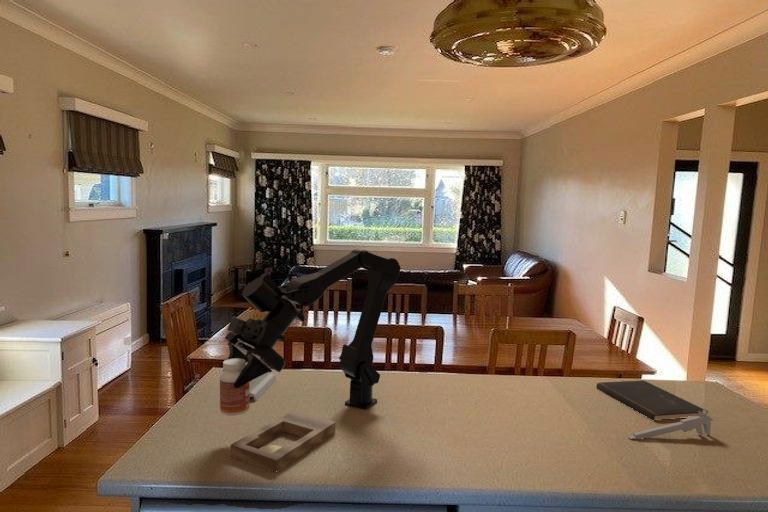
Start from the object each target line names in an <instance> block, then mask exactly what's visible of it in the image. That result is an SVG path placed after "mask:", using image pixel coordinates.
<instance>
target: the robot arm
mask: <svg viewBox="0 0 768 512" xmlns="http://www.w3.org/2000/svg"><path fill="white" fill-rule="evenodd" d="M359 269H364V270H366V271H367V274H366V275H367V277H366V278H367V282H368V283H367V284H368V289H367V292H366V296H365V300H364V304H363V307H362V310H361V312H360V313H361V314H360V317H359V320H358V323H357V327H356V330H355V334H354V337H353V339H352V341H351V342H350V343H349V344H348V345H347V344H345V343H344V344H343V346H342V347H341V348H342V349H341V353H340V356H339V357H338V360H339V367H340V369H341V371H342V372H343V373H344V377H345V378H348V379H350V382H349V399H347V400H345V401H344V404H345V405H348V406H351V407H355V408H358V409H359V408H360V409H363V410H365V409H366V410H367V409H368V408H369V407H371V406H373V405H374V404H376V403H377V402H378V398H375V397H374V398H373V386H374V385H375V384H379V381H380V378H381V373H379V372H378V371H377V370H376V369H375V368H374V367H373V365H374V353H373V352H374V351H373V347H372V345H373V340H374V338H375V334H376V331H377V327H378V323H379V321H380V316H381V314H382V310H383V307H384V303H385V300H386V296H387V293H388V291H390V290H391V289H392V288H393V286H394V285H395V284H396V282H397V280H398V278H399V275H400V273H401V265H400V263H399V262H398V260H397V259H396V258H394V257H393V258H392V257H387V256H380V255H377V254H374V253H372V252H369V251H368V250H366V249H353V250H351V251H350V253H348V254H346V255H345V256H342V257H341V258H339V259H338V260H336V261H334V262H332V263H331V264H329V265H326V266H325V267H324V268H322V269H320V270H318V271H316V272H315V273H310V274H304V275H302V276H298V277H295V278H292V279H290V280H289V281H287V282H286V284H283V285H276V283H274V282H273V280H272V278H271V277H269V276H268V274H265V273H262V274H261V275H260V276H259V277H256V278H255V279H253V280H252V281H251V282H249V283H247V285H245V287H244V288H243V290H242V292H241V293H242V296H243V297H242V298H245V300H247V302H248V303H250V304H251V305H252V306H253V307H254V308H255V309H256V310H257V311H258V312H260V313H265V312H267V314H265V315H264V317H263V318H262V319H260V318H258V319H254V318H251V317H250V318H248V319H247V320H245V319H242V318H240V317H239V318H238V317H236V316H232V317H231V320H230V322H229V324H228V326H227V329H226V331H228V333H227V335H225V337H224V340H226V342H227V346H228V348H229V349H228V351H229V354H228V357H227V360H228V359H233V358H241V359H244V360H245V361H246V363H247V362H248V363H247V364H246V366H245V367H244V369H243V370H242V372H241V373H240V375H239V376H238V378H237V380H236V381H235V383H234V387H236V388H239V387H241V386H242V385H244V384H246V383H248V382H250V381H252V380H253V379H255V378H257V377H259V376H261V375H263V374H266V373H268V372H270V373H272V372H273V370H274V371H276V372H278V373H281V371H282V370H283V369H284V367H285V366H286V359H285V358H284V357H283V356H281V354H279V353H278V352H277V351H276V350H275V349H274V347H275V346H276V344H277V343H278V341H280V342H283V341H284V339H285V336H283V335H284V334H285V332H286V331H287V330H288V328H290V326H291V324H292V323H293V322H294V320H296V321H299V322H305V321H306V320H305V315H304V312H305V310H304V309H303V308H302V309H301V308H297V307H296V306H295V305H294V304H297V305H300V306H303V307H310V306H312V305H313V304H314V303H315V302H317V301H318V300H319V299H320V298H321V297H322V296H323V295H324V293H325V292H326V290H327V289H328V288H330V287H331V286H333V285H334V284H336V283H338V282H339V281H341V280H343V279H345V278H346V277H348V276H349V275H351V274H354V272H356V271H357V270H358V271H359ZM282 298H283V299H282ZM284 299H286V300H287V302H286V301H285V300H284ZM223 371H224V369H223V370H222V372H223Z"/></svg>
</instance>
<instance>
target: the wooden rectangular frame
mask: <svg viewBox="0 0 768 512" xmlns="http://www.w3.org/2000/svg"><path fill="white" fill-rule="evenodd" d="M283 432H284V433H286V432H287V433H286V434H289V433H290V435H293V434H294V435H293V436H296V435H297V436H296V437H299V436H301V437H300V438H299V439H297V440H296V441H294V442H292V443H291V444H289V445H286V444H284V445H283V446H280V445H275V444H274V445H265V446H262V447H260V446H261V445H263V444H265V443H266V442H268V441H270V440H271V439H274V438H275V437H277V436H278V435H280V434H282V433H283ZM335 433H336V421H334V420H333V421H332V420H329V419H325V418H322V417H317V416H314V415H311V414H307V413H303V412H299V411H295V410H292V411H290V412H289V413H287V414H285V415H283V416H281V417H279V418H277V419H276V420H274V421H271V422H270V423H268V424H266V425H264V426H263V427H261V428H259V429H257V430H255V431H254V432H252V433H251V432H250V433H249V434H247V435H246V436H244V437H242V438H240V439H239V440H236V441H234V442H233V443H231V444H230V457H231V458H234V457H235V458H234V459H236V458H237V460H239V459H240V461H242V460H244V461H243V462H245V461H246V462H245V463H248V462H249V463H248V464H250V463H252V464H251V465H253V464H254V465H253V466H256V465H257V467H259V466H261V467H260V468H262V467H264V468H263V469H265V468H267V469H270V470H273V471H275V472H274V473H277V472H276V471H278V470H279V471H281V470H282V469H284V468H285V467H287V466H288V465H290V464H291V463H293V462H294V461H295V459H296V460H297V459H299V458H300V457H302V456H303V455H305V454H306V453H308V452H309V451H310V450H312V449H313V448H314V447H316V446H319V444H321V443H323V441H325V440H326V439H328V438H330V437H331V436H332V435H335ZM301 455H302V456H301ZM298 457H299V458H298ZM293 460H294V461H293ZM292 461H293V462H292ZM289 463H290V464H289ZM287 464H288V465H287ZM286 465H287V466H286ZM284 466H285V467H284ZM283 467H284V468H283ZM281 468H282V469H281ZM267 469H266V470H267ZM280 469H281V470H280ZM270 470H269V471H270ZM273 471H272V472H273ZM279 471H278V472H279Z"/></svg>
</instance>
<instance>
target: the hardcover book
mask: <svg viewBox="0 0 768 512" xmlns="http://www.w3.org/2000/svg"><path fill="white" fill-rule="evenodd" d="M596 390H598V391H600V392H602V393H604V394H605V395H607V396H608V397H610V398H612V399H614V400H616V401H617V400H618V401H617V402H619V401H620V403H621V404H622V403H623V404H622V405H624V404H625V405H624V406H626V405H627V406H626V407H628V406H629V407H631V408H633V409H635V410H636V411H638V412H639V413H638V412H637V413H638V414H640V413H641V414H643V415H645V416H647V417H649V418H650V419H652V420H656V419H657V420H658V419H659V420H658V421H661V420H660V419H671V418H680V417H688V416H699V412H698V411H700V412H701V413H702V411H703V410H705V411H707V414H708V413H709V411H708V410H706V409H704V408H702V407H700V406H698V405H696V404H694V403H692V402H691V401H687V400H686V399H683V398H682V397H679V396H676V395H675V394H673V393H672V392H669V391H667V390H665V389H662V388H661V387H658V386H657V385H654V384H652V383H650V382H648V381H646V380H644V379H643V380H641V379H640V380H623V381H621V380H620V381H602V382H597V383H596ZM629 407H628V408H629ZM631 408H630V409H631ZM633 409H632V410H633ZM635 410H634V411H635ZM636 411H635V412H636ZM641 414H640V415H641ZM643 415H642V416H643ZM645 416H644V417H645ZM647 417H646V418H647ZM650 419H649V420H650ZM652 420H651V421H652Z"/></svg>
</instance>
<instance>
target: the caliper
mask: <svg viewBox="0 0 768 512" xmlns="http://www.w3.org/2000/svg"><path fill="white" fill-rule="evenodd" d="M705 410H706V409H704V410H703V411H702V413H701V412H700V411H698V412H699V417H698V416H694V417H690V418H686V419H679V421H677V422H673V423H669V424H666V425H662V426H661V425H660V426H657V427H653V428H649V429H644V430H641V431H637V432H633V433H632V435H629V436H628V437H627V438H628V439H629V438H630V439H634V440H636V439H641V438H646V439H650V438H653V437H657V436H662V435H666V434H670V433H675V432H677V431H678V432H679V431H682V432H684V433H686V432H691V431H693V430H695V432H696V434H697V433H698V434H700V435H703V436H704V435H705V434H707V435H709V436H710V435H711V425H712V422H711V416H710V415H709V414H708V413H707V411H708V410H706V411H705ZM702 426H703V427H702ZM698 434H697V435H698ZM700 435H699V436H700ZM707 435H706V436H707ZM630 439H629V440H630Z"/></svg>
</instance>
